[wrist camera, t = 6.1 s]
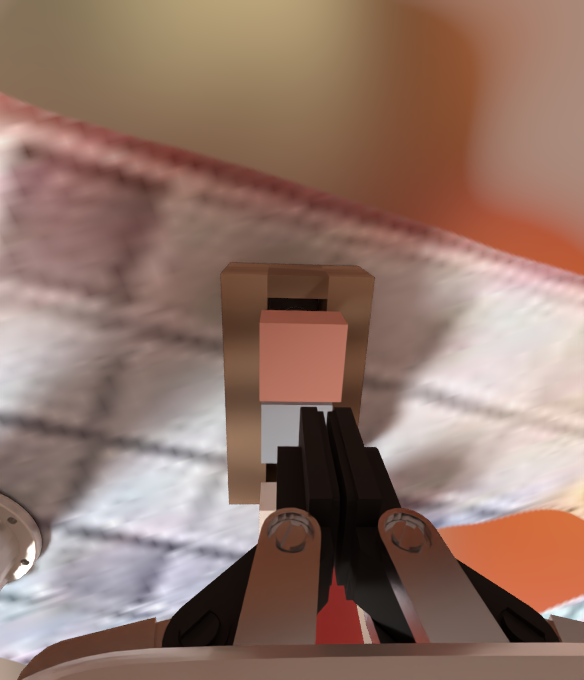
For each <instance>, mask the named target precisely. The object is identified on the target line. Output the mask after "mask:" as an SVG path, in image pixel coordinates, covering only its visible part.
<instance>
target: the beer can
mask: <svg viewBox="0 0 584 680" xmlns="http://www.w3.org/2000/svg"><path fill="white" fill-rule="evenodd" d="M315 644H364V641H363V635H362V631H361V625H360V620H359V616H358V611H357V605H356V603H355V602H354V601H353V600H346V596H345V590H344V586H338V585H337V582H336V576H335V569H333V579H332V585H331V586H330V590H329V599H328V602H327V604H326V605H325V606H324V607H323V608H322V610H321V611H320V612H319V613H318V614H317V622H316V641H315Z"/></svg>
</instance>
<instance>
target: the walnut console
mask: <svg viewBox="0 0 584 680" xmlns="http://www.w3.org/2000/svg"><path fill="white" fill-rule="evenodd" d="M374 281H375V277H373V276H372V275H370V274H369V273H368V272H366V271H365V270H363V269H362V268H361V267H359V266H337V265H301V264H266V263H230V264H229V265H228V266H227V267H226V268H225V269H224V270H223V271H222V273H221V298H222V325H223V353H224V380H225V407H226V434H227V462H228V489H229V504H260V492H261V482H277V463H261V403H262V401H259V363H260V317H261V311H262V310H269V298H306V299H319V301H318V311H332V312H341V314H342V316H343V317H344V319H345V321H346V322H347V324H348V330H347V341H346V352H345V363H344V374H343V385H342V396H341V402H332V405H333V407H332V411H333V408H334V407H351V409H352V412H353V415H354V418H355V421H356V424H357V427H358V422H359V413H360V404H361V395H362V387H363V378H364V369H365V360H366V351H367V342H368V334H369V325H370V316H371V307H372V298H373V289H374Z"/></svg>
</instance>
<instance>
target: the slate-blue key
mask: <svg viewBox="0 0 584 680" xmlns="http://www.w3.org/2000/svg"><path fill="white" fill-rule="evenodd" d="M300 407H317V410H318V411H323V413H324V417H325V422H327V412H328V411H332V407H333V405H332V402H279V401H262V403H261V463H277V446H298V443H299V421H300Z"/></svg>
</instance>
